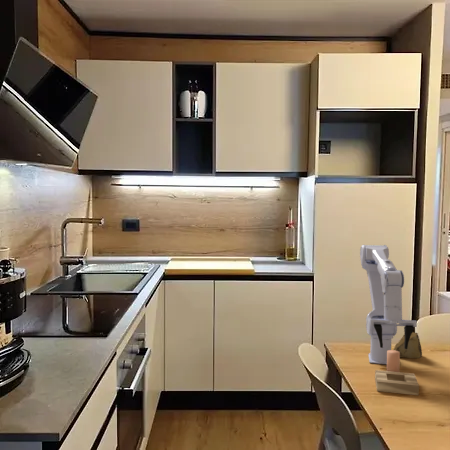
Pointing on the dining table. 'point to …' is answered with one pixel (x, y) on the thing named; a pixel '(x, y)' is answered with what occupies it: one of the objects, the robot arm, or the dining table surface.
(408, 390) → the socket block
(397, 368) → the peg
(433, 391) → the dining table surface
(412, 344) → the rock
